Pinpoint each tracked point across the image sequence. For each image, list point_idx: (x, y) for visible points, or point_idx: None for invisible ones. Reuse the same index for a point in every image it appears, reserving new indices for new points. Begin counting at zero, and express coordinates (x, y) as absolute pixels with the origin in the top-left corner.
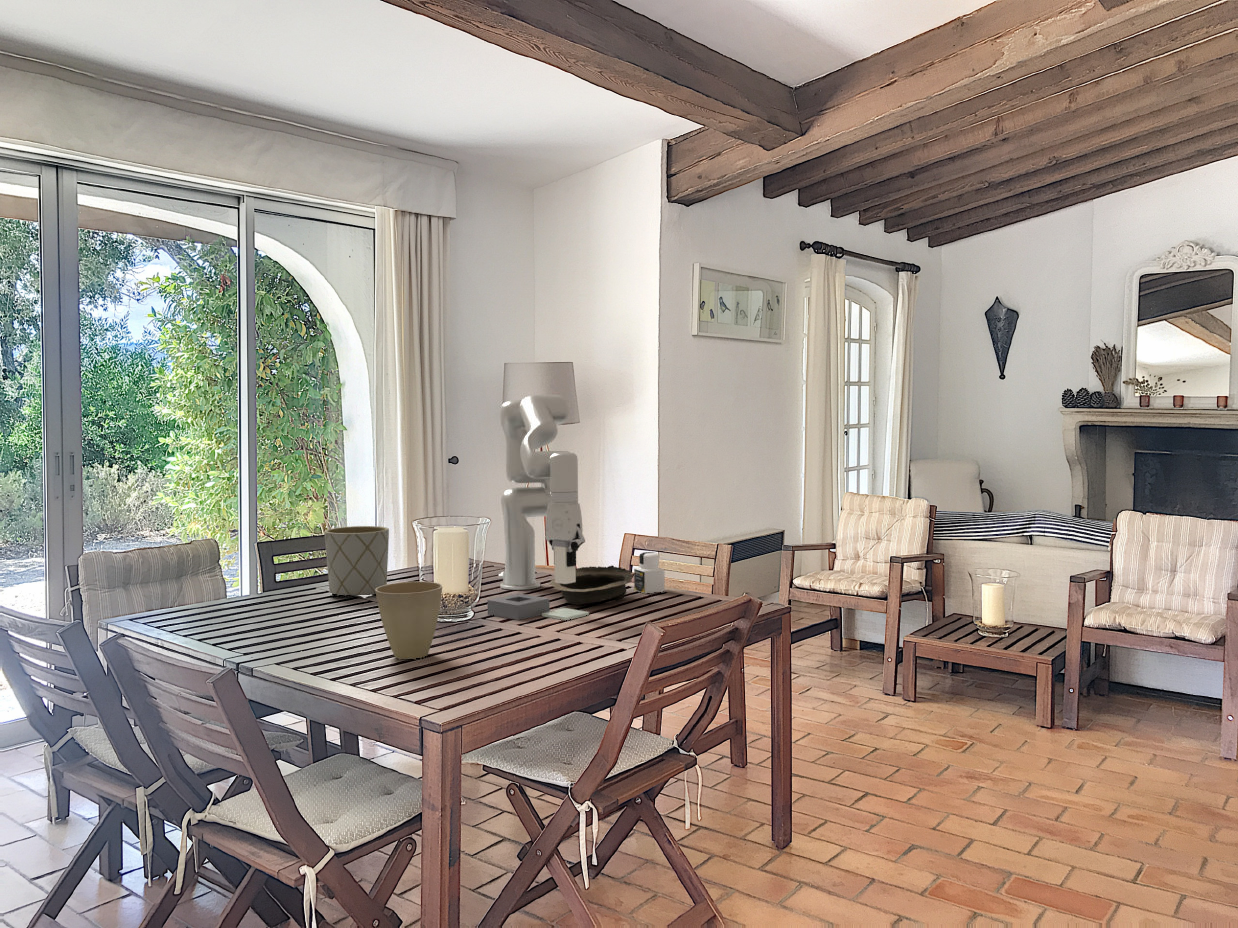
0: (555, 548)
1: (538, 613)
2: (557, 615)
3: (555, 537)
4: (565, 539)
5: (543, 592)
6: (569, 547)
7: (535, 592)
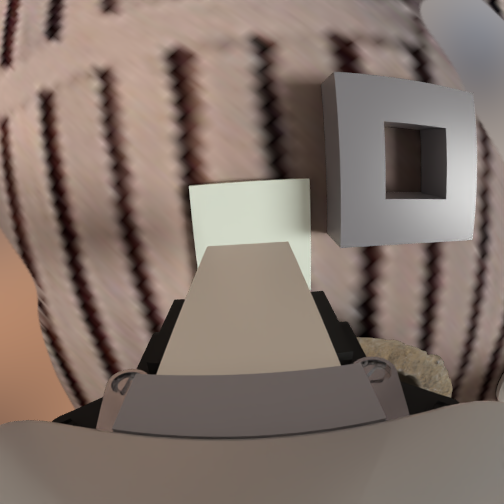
0: (318, 359)
1: (328, 180)
2: (238, 189)
3: (307, 458)
4: (65, 431)
5: (475, 378)
6: (123, 400)
7: (488, 366)
